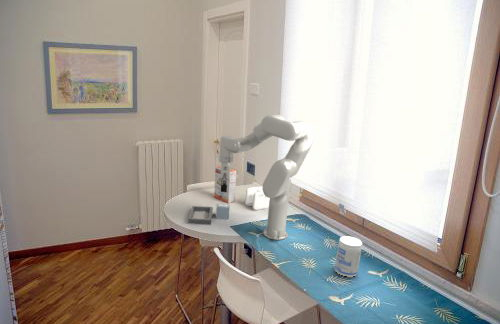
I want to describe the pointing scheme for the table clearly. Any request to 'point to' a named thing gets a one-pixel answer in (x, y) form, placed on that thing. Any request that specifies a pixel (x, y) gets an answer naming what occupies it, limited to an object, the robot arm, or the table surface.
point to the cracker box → (231, 186)
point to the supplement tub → (348, 256)
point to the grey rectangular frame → (200, 221)
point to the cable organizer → (256, 198)
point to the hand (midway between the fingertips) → (223, 189)
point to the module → (222, 211)
